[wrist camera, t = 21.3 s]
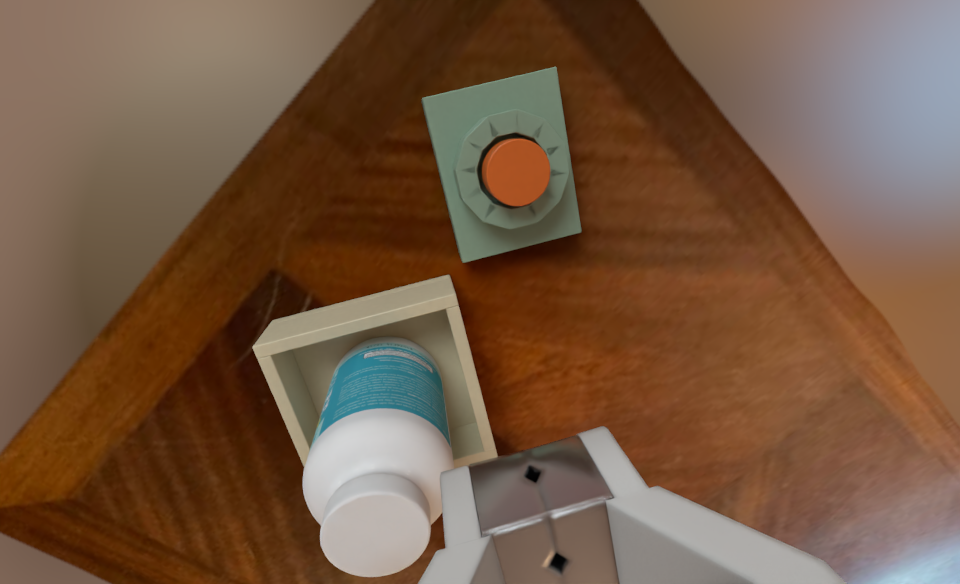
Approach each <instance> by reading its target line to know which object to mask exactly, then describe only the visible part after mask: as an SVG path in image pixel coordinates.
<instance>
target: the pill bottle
mask: <svg viewBox="0 0 960 584" xmlns="http://www.w3.org/2000/svg"><path fill="white" fill-rule="evenodd" d="M451 469H454V461H453V453H452V446H451V439H450V432H449V425H448V418H447V410H446V403H445V396H444V389H443V383H442V377H441V373H440V370H439V367H438V365H437V363H436V362H435V360H434V359H433V357H432V356H431V355H430V354H429V353H428V352H427V351H426V350H425V349H424V348H423V347H421V346H420V345H418V344H416V343H414V342H412V341H410V340H407V339H404V338H400V337H392V336H385V337H377V338H372V339H369V340H366V341H364V342H362V343H360V344H358V345H356V346H355V347H353V348H352V349H351V350H349V351H348V352H347V353H346V354H345V355H344V356H343V358H342V359H341V360H340V362H339V363H338V365H337V367H336V369H335V371H334V374H333V377H332V380H331V383H330V386H329V390H328V393H327V396H326V399H325V403H324V406H323V409H322V412H321V416H320V419H319V422H318V425H317V429H316V432H315V435H314V438H313V442H312V445H311V448H310V451H309V454H308V457H307V461H306V464H305V468H304V473H303V493H304V498H305V501H306V503H307V506H308V508H309V510H310V512H311V514H312V515H313V517H314V518H315V519H316V521H317V522H318V523H319V524H320V525H321V530H320V543H321V547H322V550H323V552H324V554H325V556H326V557H327V558H328V560H329V561H330V562H331V563H332V564H333V565H334V566H336V567H337V568H339V569H340V570H342V571H344V572H347V573H349V574H352V575H356V576H362V577H379V576H386V575H390V574H393V573H396V572H399V571H401V570H403V569H405V568H406V567H408V566H410V565H411V564H412V563H414V562H415V561H416V560H417V559H418V558H419V557H420V556H421V555H422V553H423V552H424V550H425V549H426V547H427V544H428V542H429V539H430V532H431V524H433V523H434V522H435V521H436V519H437V518H438V517H439V516H440V515H441V513H442V502H441V490H440V479H439V478H440V474H441V472H444V471H447V470H451Z"/></svg>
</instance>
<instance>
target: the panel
mask: <svg viewBox="0 0 960 584" xmlns="http://www.w3.org/2000/svg"><path fill="white" fill-rule="evenodd" d="M421 102H422V106H423V110H424V114H425V118H426V122H427V126H428V130H429V134H430V138H431V142H432V146H433V150H434V154H435V158H436V162H437V166H438V170H439V174H440V178H441V182H442V186H443V190H444V194H445V198H446V203H447V207H448V211H449V215H450V219H451V223H452V227H453V231H454V235H455V239H456V243H457V247H458V251H459V255H460V258H461V260H462V262H463V263H465V262H469V261H473V260H477V259H481V258H485V257H488V256H492V255H496V254H500V253H504V252H508V251H512V250H516V249H519V248H523V247H527V246H531V245H535V244H539V243H543V242H546V241H550V240H554V239H558V238H562V237H566V236H570V235H574V234H577V233H581V232H582V231H581V224H580V218H579V211H578V205H577V198H576V192H575V185H574V178H573V172H572V165H571V159H570V152H569V146H568V139H567V133H566V126H565V120H564V113H563V107H562V100H561V94H560V87H559V81H558V74H557V68H556V67H553V68H548V69H544V70H540V71H536V72H531V73H527V74H523V75H518V76H514V77H510V78H506V79H501V80H497V81H493V82H489V83H484V84H480V85H476V86H471V87H467V88H463V89H459V90H454V91H450V92H446V93H441V94H437V95H433V96H429V97H424V98H422V101H421ZM506 139H526V140H530V141H532V142H534V143H536V144H537V145H538V146H540V147H541V148H542V149H543V151H544V152H545V154H546V155H547V157H548V160H549V164H550V179H549V183H548V185H547V188H546V189H545V191H544V192H543V194H542V195H541V196H540V197H539V198H538V199H537V200H535V201H534V202H532V203H530V204H528V205H524V206H510V205H507V204H504V203H502V202H501V201H499V200H498V199H496V198H495V197H493V196H492V195H491V194H490V193H489V192H488V190H487V189H486V187H485V185H484V182H483V179H482V165H483V161H484V158H485V156H486V154H487V153H488V151H489V150H490V149H491V148H492V147H493V146H494V145H495V144H497V143H499V142H501V141H503V140H506Z"/></svg>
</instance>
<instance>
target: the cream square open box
mask: <svg viewBox="0 0 960 584" xmlns="http://www.w3.org/2000/svg"><path fill="white" fill-rule="evenodd" d="M385 336H392V337H400V338H404V339H407V340H410V341H412V342H414V343H416V344H418V345H420V346H421V347H423V348H424V349H425V350H426V351H427V352H428V353H429V354H430V355H431V356H432V357H433V359H434V360H435V362H436V363H437V365H438V367H439V370H440V373H441V377H442V383H443V389H444V396H445V403H446V410H447V418H448V425H449V432H450V439H451V446H452V453H453V461H454V469H455V468H458V467H462V466H466V465H468V466H469V464H472V463H476V462H480V461H484V460H488V459H491V458H495V457H498V455H497V452H496V448H495V444H494V440H493V436H492V432H491V428H490V424H489V420H488V417H487V413H486V409H485V405H484V401H483V397H482V393H481V389H480V386H479V382H478V378H477V374H476V370H475V366H474V362H473V358H472V355H471V351H470V347H469V343H468V339H467V335H466V331H465V327H464V324H463V320H462V316H461V312H460V308H459V305H458V300H457V297H456V293H455V290H454V286H453V283H452V280H451V277H450V275H445V276H441V277H437V278H433V279H430V280H426V281H422V282H418V283H414V284H410V285H407V286H403V287H399V288H395V289H391V290H387V291H383V292H380V293H376V294H372V295H368V296H364V297H360V298H356V299H353V300H349V301H345V302H341V303H337V304H333V305H330V306H326V307H322V308H318V309H314V310H310V311H306V312H303V313H299V314H295V315H291V316H287V317H283V318H280V319H276V320H273V321H272V322H271V323H270V325H269V326H268V327H267V328H266V330H265V331H264V332H263V334H262V335H261V336H260V338H259V339H258V340H257V342H256V343H255V344H254V346H253V350H254V352H255V355H256V357H257V358H258V362H259V364H260V366H261V368H262V371H263V373H264V375H265V378H266V380H267V382H268V385H269V387H270V389H271V392H272V394H273V396H274V398H275V401H276V403H277V405H278V408H279V410H280V412H281V415H282V417H283V419H284V422H285V424H286V426H287V429H288V431H289V433H290V435H291V438H292V440H293V442H294V445H295V447H296V449H297V452H298V454H299V456H300V459H301V461H302V463H303V466H304V468H305V464H306V461H307V457H308V454H309V451H310V448H311V445H312V442H313V438H314V435H315V432H316V429H317V425H318V422H319V419H320V416H321V412H322V409H323V406H324V403H325V399H326V396H327V393H328V390H329V386H330V383H331V380H332V377H333V374H334V371H335V369H336V367H337V365H338V363H339V362H340V360H341V359H342V358H343V356H344V355H345V354H346V353H347V352H348V351H349V350H351V349H352V348H353V347H355V346H356V345H358V344H360V343H362V342H364V341H366V340H369V339H372V338H377V337H385Z"/></svg>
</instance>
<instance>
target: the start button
mask: <svg viewBox="0 0 960 584" xmlns="http://www.w3.org/2000/svg"><path fill="white" fill-rule="evenodd" d="M482 179H483V182H484V185H485V187H486V189H487V190H488V192H489V193H490V194H491V195H492V196H493V197H495V198H496V199H498V200H499V201H501V202H502V203H504V204H507V205H510V206H524V205H528V204H530V203H532V202H534V201H535V200H537V199H538V198H539V197H540V196H541V195H542V194H543V192H544V191H545V189H546V188H547V185H548V183H549V179H550V164H549V160H548V157H547V155H546V154H545V152H544V151H543V149H542V148H541V147H540V146H538V145H537V144H536V143H534V142H532V141H530V140H526V139H506V140H503V141H501V142H499V143H497V144H495V145H494V146H493V147H492V148H491V149H490V150H489V151H488V153H487V154H486V156H485V158H484V161H483V165H482Z"/></svg>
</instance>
